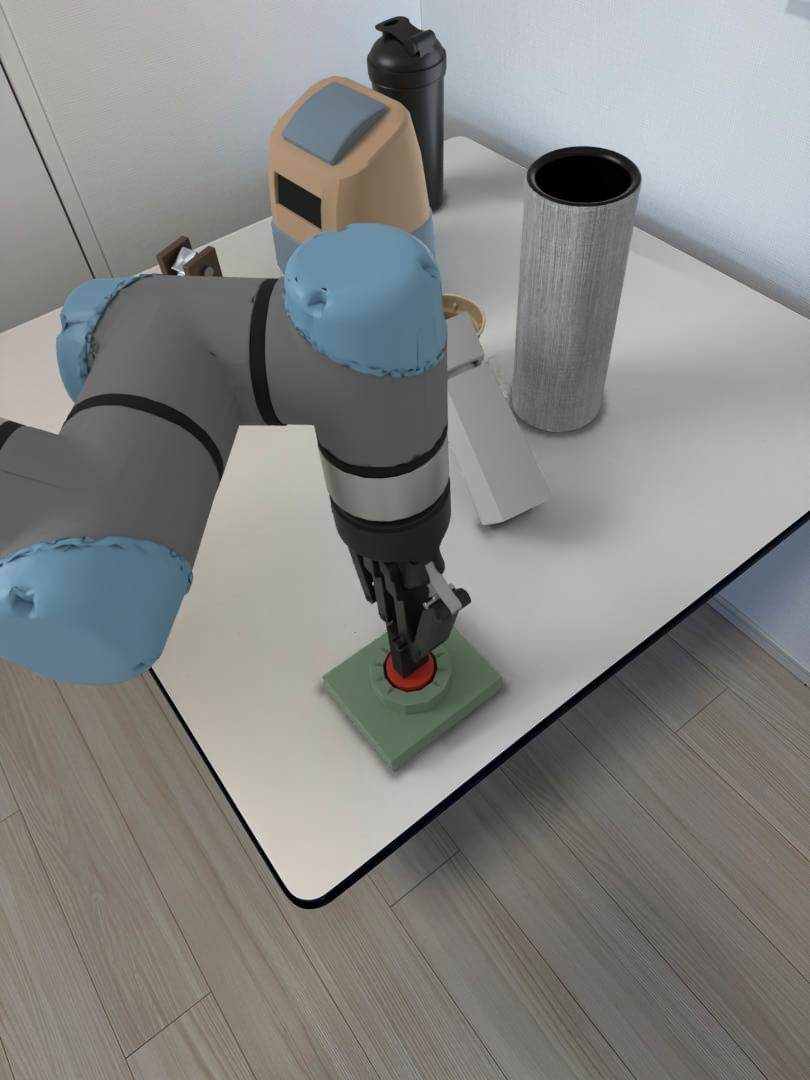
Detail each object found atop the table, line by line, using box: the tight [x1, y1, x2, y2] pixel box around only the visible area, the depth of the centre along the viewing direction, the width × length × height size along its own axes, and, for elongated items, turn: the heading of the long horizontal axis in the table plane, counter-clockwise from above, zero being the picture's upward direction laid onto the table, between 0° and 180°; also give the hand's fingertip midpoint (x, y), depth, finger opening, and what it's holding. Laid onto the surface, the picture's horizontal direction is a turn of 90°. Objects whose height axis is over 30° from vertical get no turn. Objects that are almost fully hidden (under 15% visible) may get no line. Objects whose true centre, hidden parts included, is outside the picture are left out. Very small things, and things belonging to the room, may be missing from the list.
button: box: [386, 653, 434, 692], centre depth 69 cm, size 4×4×2 cm
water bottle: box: [366, 15, 448, 213], centre depth 110 cm, size 10×10×23 cm
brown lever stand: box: [155, 235, 224, 277], centre depth 96 cm, size 12×9×14 cm
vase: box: [511, 145, 643, 433], centre depth 82 cm, size 10×10×27 cm
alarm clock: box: [267, 75, 436, 276], centre depth 99 cm, size 17×17×23 cm
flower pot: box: [442, 292, 487, 340], centre depth 92 cm, size 9×9×9 cm
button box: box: [321, 626, 503, 773], centre depth 71 cm, size 12×10×4 cm
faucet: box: [446, 311, 555, 526], centre depth 84 cm, size 6×16×20 cm
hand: (411, 663), depth 69 cm, fingers closed
